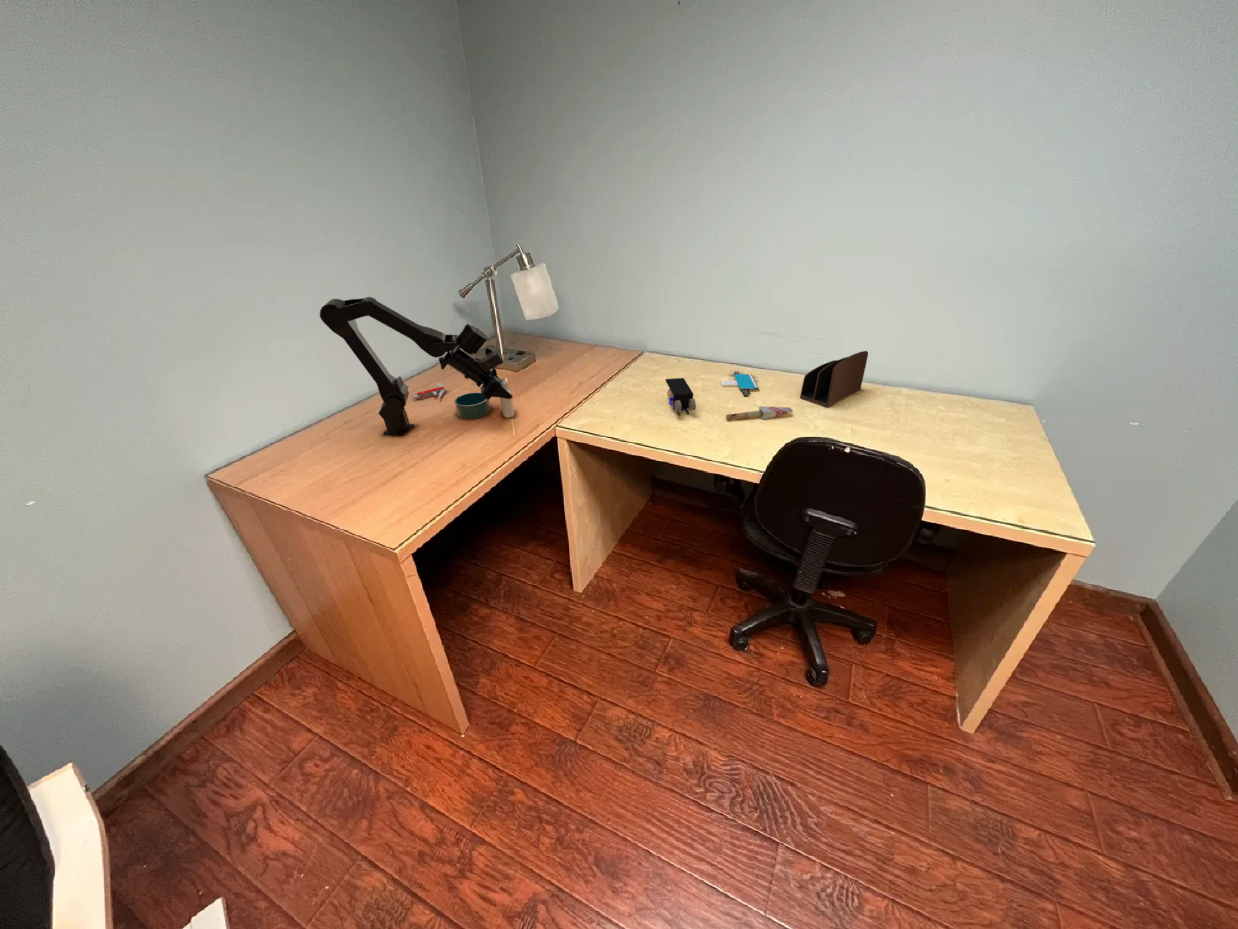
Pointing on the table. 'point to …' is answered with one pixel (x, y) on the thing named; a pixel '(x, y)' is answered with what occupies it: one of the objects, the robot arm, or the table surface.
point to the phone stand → (742, 383)
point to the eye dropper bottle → (507, 402)
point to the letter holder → (834, 380)
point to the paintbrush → (761, 413)
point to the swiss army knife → (431, 392)
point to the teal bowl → (472, 405)
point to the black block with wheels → (680, 395)
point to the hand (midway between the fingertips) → (510, 393)
